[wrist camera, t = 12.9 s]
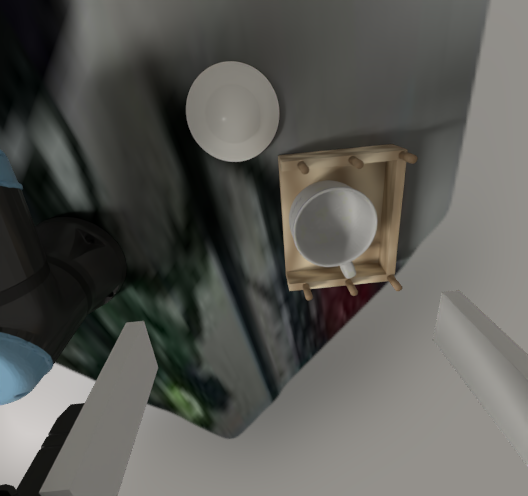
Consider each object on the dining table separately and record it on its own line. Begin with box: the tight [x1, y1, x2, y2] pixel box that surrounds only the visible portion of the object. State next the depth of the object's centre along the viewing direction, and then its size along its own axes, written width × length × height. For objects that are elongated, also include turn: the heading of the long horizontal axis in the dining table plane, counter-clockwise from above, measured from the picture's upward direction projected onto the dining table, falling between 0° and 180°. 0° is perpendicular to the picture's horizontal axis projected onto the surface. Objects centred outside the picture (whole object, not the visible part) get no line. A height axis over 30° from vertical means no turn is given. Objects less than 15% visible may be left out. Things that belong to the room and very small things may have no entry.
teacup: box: [289, 180, 378, 279], centre depth 45 cm, size 14×11×8 cm
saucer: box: [186, 61, 279, 162], centre depth 42 cm, size 12×12×2 cm
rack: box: [278, 144, 418, 300], centre depth 46 cm, size 16×19×8 cm
